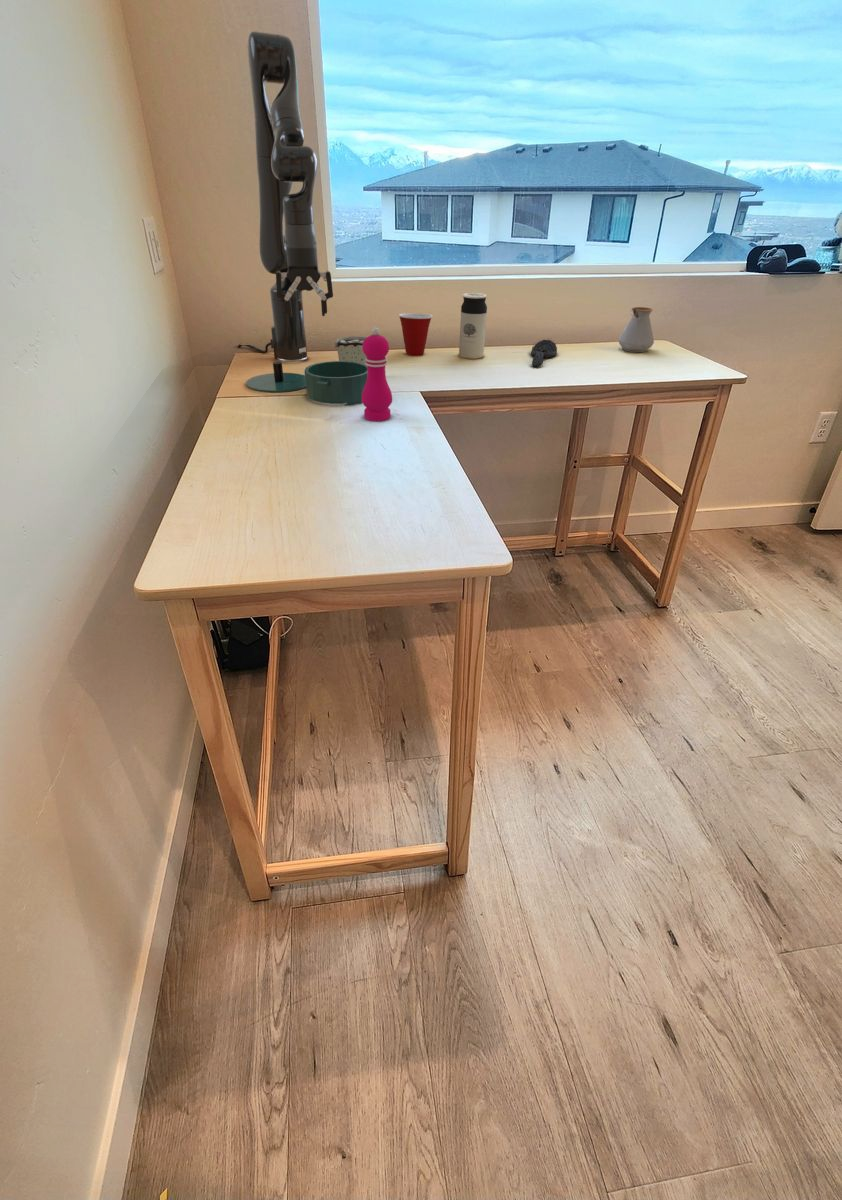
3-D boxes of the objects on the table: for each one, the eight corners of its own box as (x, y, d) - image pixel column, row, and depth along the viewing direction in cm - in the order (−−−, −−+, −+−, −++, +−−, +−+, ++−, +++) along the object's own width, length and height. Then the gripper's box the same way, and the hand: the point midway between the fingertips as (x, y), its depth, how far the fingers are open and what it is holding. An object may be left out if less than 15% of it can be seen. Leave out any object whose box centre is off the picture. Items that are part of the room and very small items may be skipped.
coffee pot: (621, 344, 217) (630, 297, 208) (654, 348, 212) (665, 300, 204) (606, 357, 201) (615, 307, 192) (642, 361, 197) (652, 310, 188)
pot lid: (234, 391, 163) (230, 368, 160) (265, 374, 177) (263, 352, 174) (295, 397, 159) (293, 374, 156) (322, 379, 173) (320, 357, 170)
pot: (291, 405, 154) (289, 377, 150) (326, 382, 172) (324, 356, 168) (354, 411, 151) (352, 383, 147) (382, 387, 168) (382, 361, 164)
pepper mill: (396, 414, 149) (396, 325, 138) (385, 423, 144) (384, 332, 132) (369, 411, 151) (366, 323, 140) (357, 419, 146) (353, 329, 134)
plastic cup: (434, 351, 204) (436, 311, 197) (427, 359, 195) (428, 318, 188) (403, 349, 206) (403, 309, 199) (394, 356, 197) (394, 315, 190)
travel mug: (467, 352, 203) (470, 291, 193) (488, 355, 200) (492, 294, 189) (454, 356, 198) (456, 294, 188) (475, 360, 194) (479, 297, 184)
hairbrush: (523, 356, 188) (535, 335, 207) (522, 369, 190) (534, 347, 209) (550, 359, 186) (560, 338, 205) (548, 371, 188) (558, 349, 207)
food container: (382, 373, 180) (381, 336, 174) (379, 378, 175) (378, 341, 169) (340, 371, 181) (338, 335, 175) (336, 377, 176) (334, 339, 170)
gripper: (329, 243, 157) (333, 313, 166) (272, 243, 155) (279, 313, 164) (330, 246, 151) (334, 318, 160) (271, 246, 149) (278, 319, 158)
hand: (307, 315), depth 162 cm, fingers open, 8 cm apart
